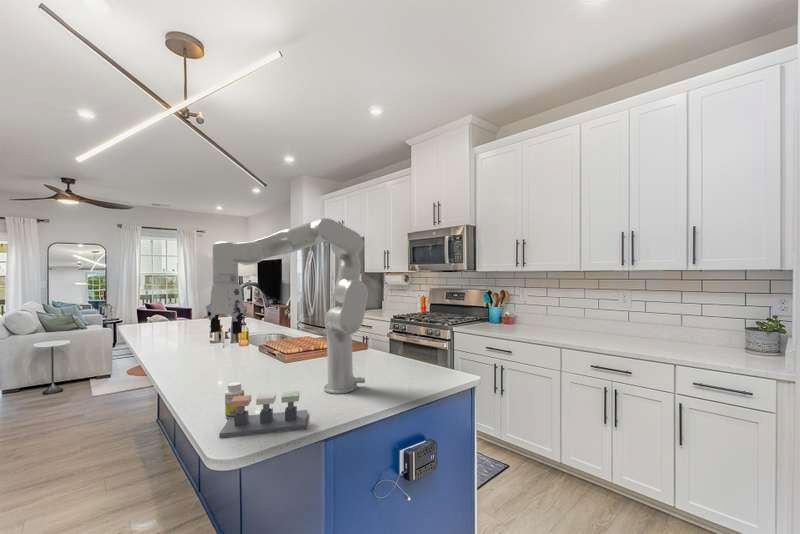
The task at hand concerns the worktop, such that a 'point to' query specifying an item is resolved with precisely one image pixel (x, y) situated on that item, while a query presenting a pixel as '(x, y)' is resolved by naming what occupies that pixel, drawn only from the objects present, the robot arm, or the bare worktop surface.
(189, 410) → the worktop surface
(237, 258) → the robot arm
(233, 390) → the supplement bottle
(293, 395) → the green key
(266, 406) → the key mid
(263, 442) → the worktop surface
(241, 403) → the key
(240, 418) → the keypad board
